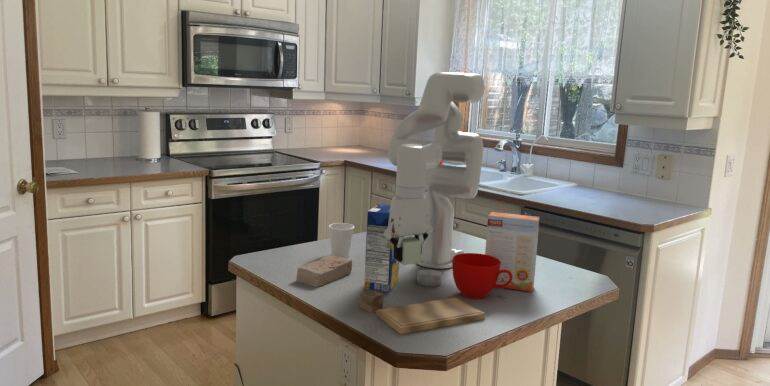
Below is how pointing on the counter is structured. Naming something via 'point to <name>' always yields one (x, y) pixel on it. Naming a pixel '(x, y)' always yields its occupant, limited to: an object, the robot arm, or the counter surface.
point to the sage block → (411, 250)
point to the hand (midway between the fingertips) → (407, 258)
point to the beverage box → (379, 252)
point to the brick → (324, 270)
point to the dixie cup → (341, 239)
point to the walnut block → (371, 301)
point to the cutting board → (429, 315)
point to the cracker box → (513, 247)
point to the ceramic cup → (477, 274)
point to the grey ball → (429, 277)
